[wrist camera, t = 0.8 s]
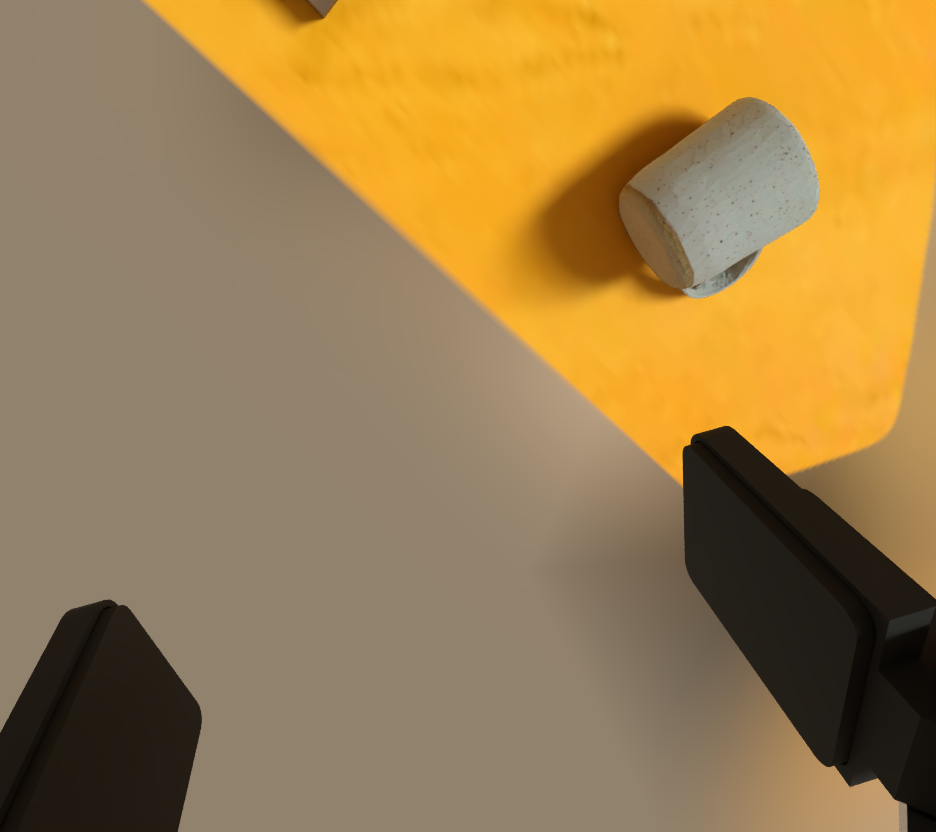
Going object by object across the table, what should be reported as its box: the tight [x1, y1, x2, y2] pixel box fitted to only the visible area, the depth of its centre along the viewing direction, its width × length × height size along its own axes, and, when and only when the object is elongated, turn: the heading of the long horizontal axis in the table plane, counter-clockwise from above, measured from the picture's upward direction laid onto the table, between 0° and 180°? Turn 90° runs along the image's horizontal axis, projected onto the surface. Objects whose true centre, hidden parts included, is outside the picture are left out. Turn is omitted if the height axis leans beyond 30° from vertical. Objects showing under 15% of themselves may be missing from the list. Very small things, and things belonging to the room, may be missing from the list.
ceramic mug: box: [619, 97, 820, 298], centre depth 34 cm, size 11×8×8 cm
